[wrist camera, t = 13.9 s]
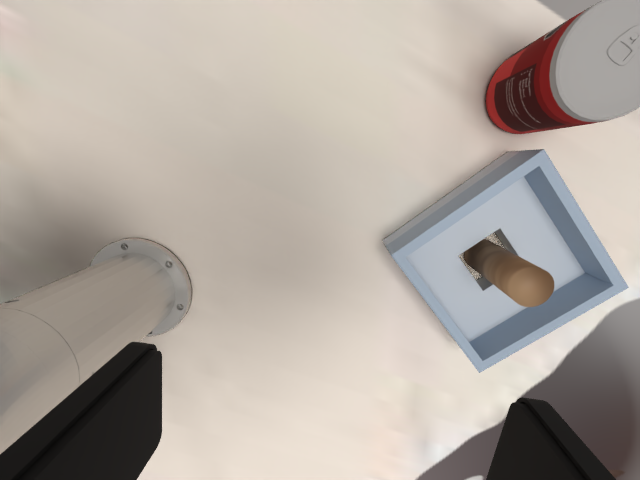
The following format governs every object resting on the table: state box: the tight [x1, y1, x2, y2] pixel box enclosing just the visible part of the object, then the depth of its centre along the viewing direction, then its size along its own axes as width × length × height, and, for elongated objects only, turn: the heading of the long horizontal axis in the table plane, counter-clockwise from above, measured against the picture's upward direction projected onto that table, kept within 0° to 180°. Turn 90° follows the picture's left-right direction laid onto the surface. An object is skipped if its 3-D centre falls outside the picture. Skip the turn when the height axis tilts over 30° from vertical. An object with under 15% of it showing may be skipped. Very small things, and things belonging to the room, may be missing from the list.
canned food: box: [486, 0, 640, 134], centre depth 26 cm, size 8×8×11 cm
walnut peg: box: [464, 239, 554, 307], centre depth 31 cm, size 4×4×10 cm
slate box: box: [382, 149, 629, 373], centre depth 33 cm, size 16×16×6 cm
